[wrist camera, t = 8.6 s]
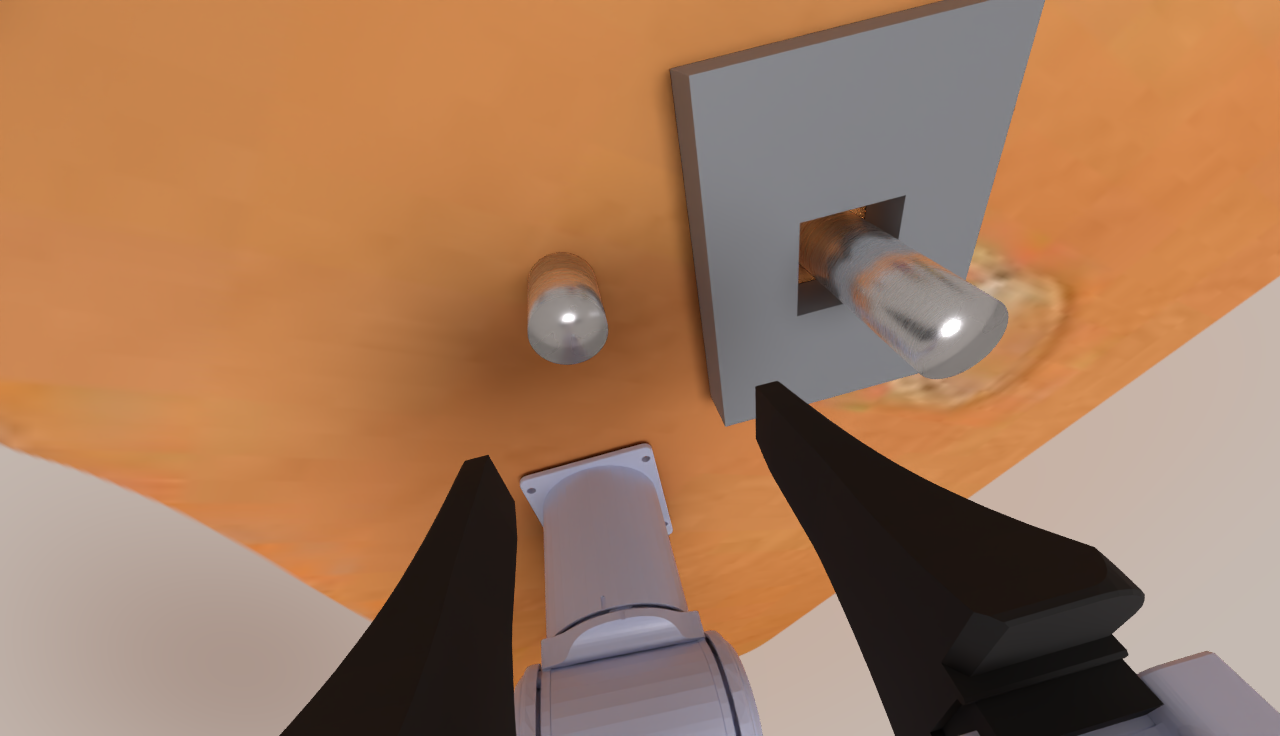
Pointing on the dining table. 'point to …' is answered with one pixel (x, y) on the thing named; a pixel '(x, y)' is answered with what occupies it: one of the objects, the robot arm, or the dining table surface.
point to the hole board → (838, 178)
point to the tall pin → (902, 294)
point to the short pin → (565, 310)
